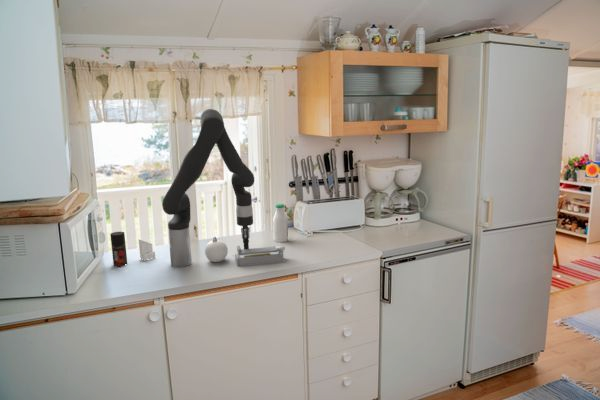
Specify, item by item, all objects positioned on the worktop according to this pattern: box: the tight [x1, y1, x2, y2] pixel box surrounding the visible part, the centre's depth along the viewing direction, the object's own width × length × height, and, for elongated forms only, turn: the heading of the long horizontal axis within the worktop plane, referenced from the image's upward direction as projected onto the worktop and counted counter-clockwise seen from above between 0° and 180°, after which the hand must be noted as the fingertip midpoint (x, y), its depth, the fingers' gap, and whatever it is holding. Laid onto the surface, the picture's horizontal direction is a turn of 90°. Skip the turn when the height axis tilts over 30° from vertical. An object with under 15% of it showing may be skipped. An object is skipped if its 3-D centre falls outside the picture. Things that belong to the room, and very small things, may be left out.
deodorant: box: [110, 231, 128, 267], centre depth 208 cm, size 6×6×15 cm
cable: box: [244, 253, 271, 257], centre depth 208 cm, size 12×4×3 cm, turn 106°
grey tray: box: [232, 250, 286, 267], centre depth 213 cm, size 22×16×4 cm
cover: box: [236, 245, 286, 256], centre depth 209 cm, size 6×22×3 cm, turn 104°
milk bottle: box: [272, 203, 289, 243], centre depth 240 cm, size 8×8×20 cm
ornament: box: [204, 236, 229, 263], centre depth 210 cm, size 10×10×12 cm
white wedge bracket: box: [138, 239, 156, 261], centre depth 216 cm, size 4×10×9 cm, turn 138°
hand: (246, 250), depth 212 cm, fingers closed
